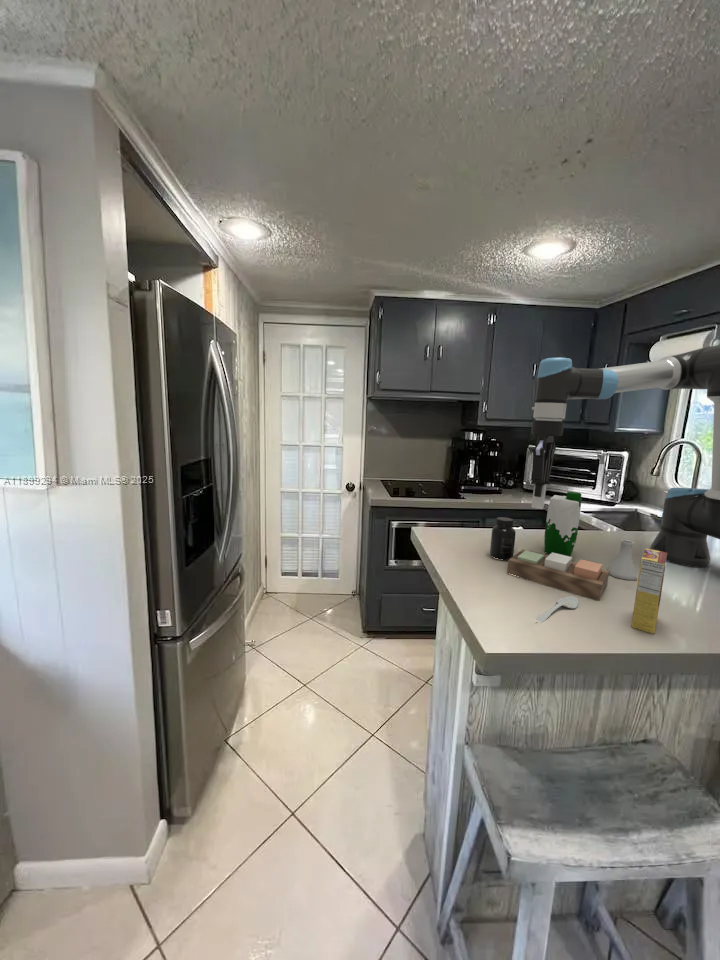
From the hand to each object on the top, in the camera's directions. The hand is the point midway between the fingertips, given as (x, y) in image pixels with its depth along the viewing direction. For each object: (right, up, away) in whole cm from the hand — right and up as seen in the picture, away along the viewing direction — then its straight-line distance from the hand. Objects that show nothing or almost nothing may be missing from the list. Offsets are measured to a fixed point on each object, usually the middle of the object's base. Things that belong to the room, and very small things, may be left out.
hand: (537, 507), depth 106 cm
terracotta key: (+10, -18, -6) cm, 22 cm away
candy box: (+13, -23, -22) cm, 35 cm away
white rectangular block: (+5, -17, -2) cm, 18 cm away
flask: (+25, -19, +4) cm, 32 cm away
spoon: (-6, -22, -19) cm, 30 cm away
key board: (+4, -19, -1) cm, 20 cm away
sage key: (-1, -17, +3) cm, 18 cm away
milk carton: (+16, -16, +20) cm, 30 cm away
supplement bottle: (-5, -16, +14) cm, 22 cm away
